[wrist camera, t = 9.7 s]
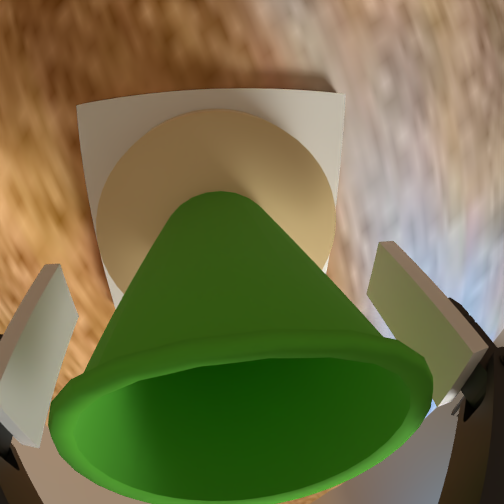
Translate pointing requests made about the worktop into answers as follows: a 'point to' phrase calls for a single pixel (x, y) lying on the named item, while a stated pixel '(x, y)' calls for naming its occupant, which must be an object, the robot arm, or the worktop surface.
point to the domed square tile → (209, 164)
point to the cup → (236, 372)
